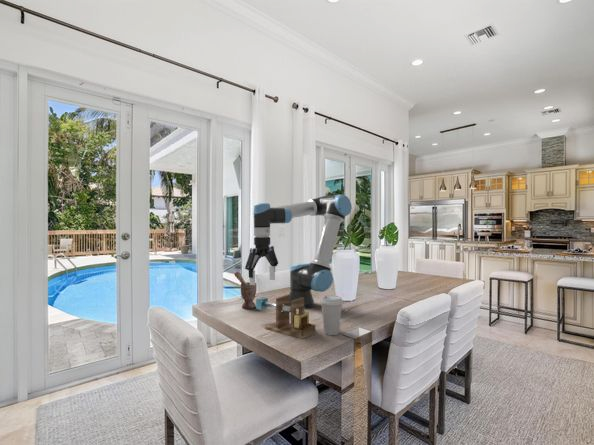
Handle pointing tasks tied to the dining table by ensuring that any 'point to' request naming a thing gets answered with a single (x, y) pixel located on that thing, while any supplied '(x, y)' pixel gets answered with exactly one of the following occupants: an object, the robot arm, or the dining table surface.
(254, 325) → the dining table surface
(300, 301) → the bracket
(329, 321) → the coffee cup
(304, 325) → the tan wooden piece
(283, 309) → the shaft
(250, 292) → the mortar and pestle
